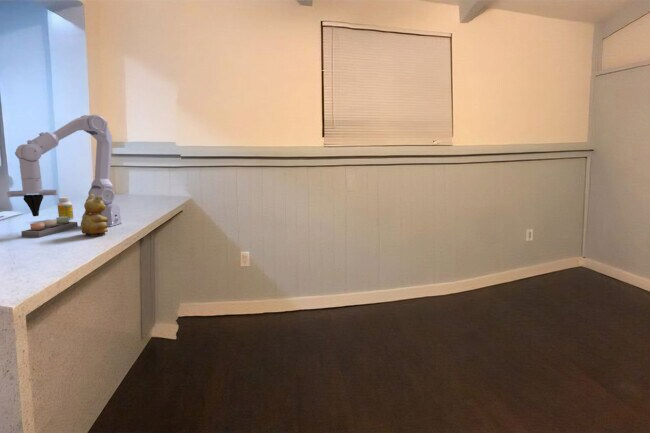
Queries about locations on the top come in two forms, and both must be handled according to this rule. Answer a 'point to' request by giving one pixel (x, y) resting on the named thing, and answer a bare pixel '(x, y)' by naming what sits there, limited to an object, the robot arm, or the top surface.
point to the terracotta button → (37, 226)
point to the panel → (49, 230)
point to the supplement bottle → (65, 208)
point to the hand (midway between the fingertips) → (35, 215)
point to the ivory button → (50, 223)
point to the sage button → (62, 220)
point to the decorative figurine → (94, 217)
